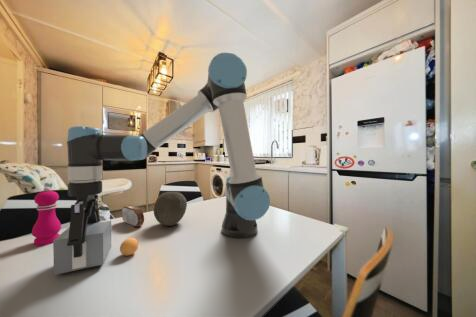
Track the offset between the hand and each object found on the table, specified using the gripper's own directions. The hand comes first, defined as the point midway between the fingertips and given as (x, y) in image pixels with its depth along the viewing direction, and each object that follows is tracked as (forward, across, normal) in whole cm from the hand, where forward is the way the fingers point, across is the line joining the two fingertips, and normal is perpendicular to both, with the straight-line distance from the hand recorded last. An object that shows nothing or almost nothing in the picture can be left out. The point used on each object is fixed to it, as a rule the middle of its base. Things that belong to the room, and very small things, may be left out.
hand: (86, 256), depth 51 cm
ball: (-1, 0, +11) cm, 11 cm away
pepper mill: (+2, -22, -17) cm, 28 cm away
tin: (+2, -28, +9) cm, 29 cm away
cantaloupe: (+2, -21, +25) cm, 33 cm away
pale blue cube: (+1, 0, 0) cm, 1 cm away
